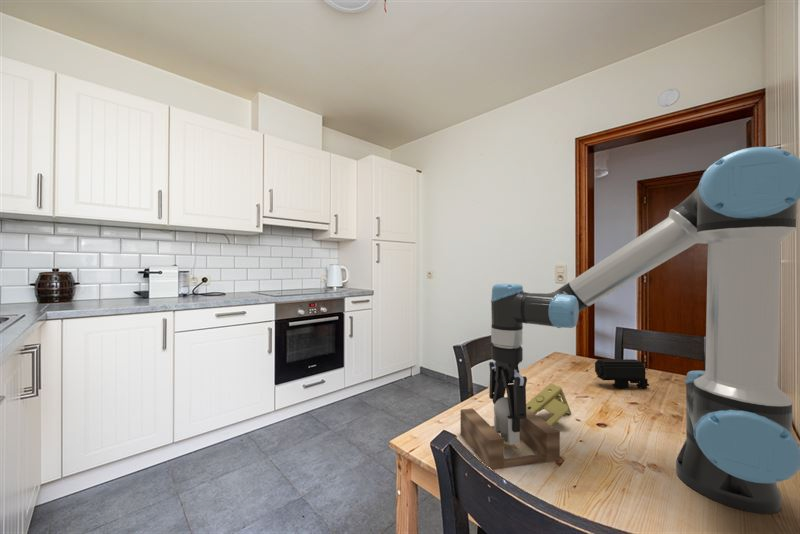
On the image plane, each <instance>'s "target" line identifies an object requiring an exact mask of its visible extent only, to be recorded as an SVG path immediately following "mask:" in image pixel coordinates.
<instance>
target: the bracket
mask: <svg viewBox="0 0 800 534" xmlns="http://www.w3.org/2000/svg"><path fill="white" fill-rule="evenodd" d="M526 408H527V409H528V410H530V411H531V412H532V413H534V414H535V415H537V413H538V412H542V411H543V410H545V411H547V412H548V413H550V414H551V415H552V416H551V417H550V418H549V419H547V420H545V422H547V423H548V424H549V425H551V426H552V427H553V425H555V423H557V422H558V421H559V420H560V419H562V417H563V416H565V415H566V414H568V415H572V411H571V408H570V406H569V404H568V401H567V399H566V396H565V393H564V391H563V388H561V386H559V385H555V383H548V385H547V386H545V388H543V389H542V390H540V392H538V393H537V394H536V395H535V396H534V397H532V398H531V399H530V400H529V401H528V402H526Z"/></svg>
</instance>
